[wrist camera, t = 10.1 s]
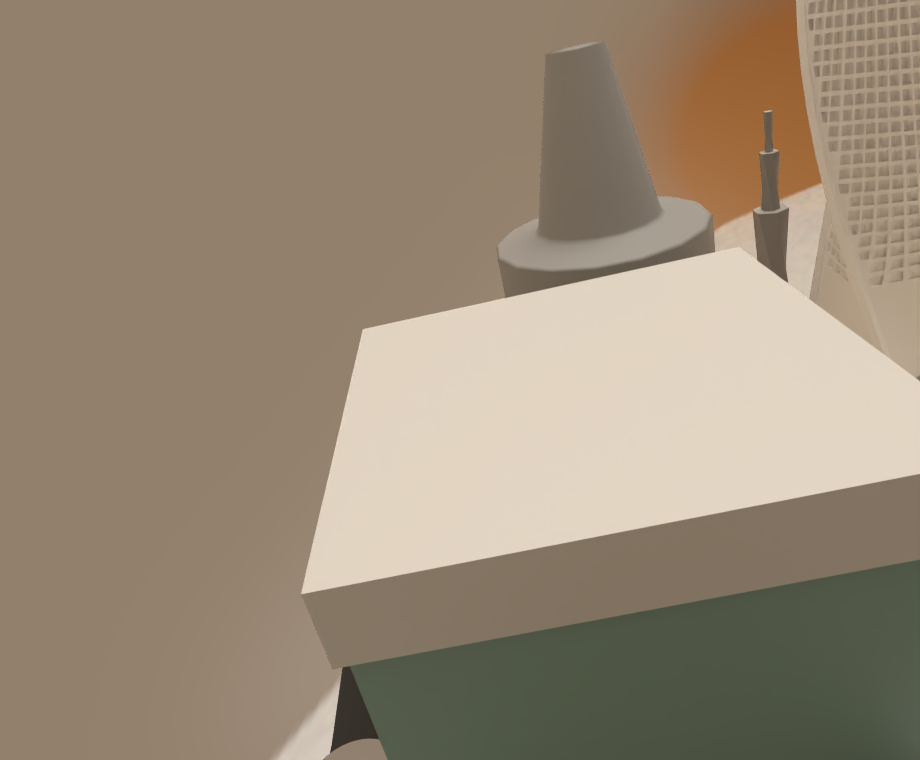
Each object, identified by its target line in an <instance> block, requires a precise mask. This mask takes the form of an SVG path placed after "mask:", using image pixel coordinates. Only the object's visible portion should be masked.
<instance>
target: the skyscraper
mask: <svg viewBox="0 0 920 760" xmlns="http://www.w3.org/2000/svg"><path fill="white" fill-rule="evenodd" d="M796 9H797V32H798V43H799V53H800V64H801V74H802V80H803V87H804V94H805V101H806V107H807V114H808V119H809V124H810V129H811V135H812V140H813V145H814V150H815V155H816V159H817V163H818V167H819V171H820V176H821V180H822V184H823V188H824V192H825V196H826V200H827V201H826V206H825V212H824V217H823V223H822V228H821V234H820V239H819V245H818V251H817V257H816V263H815V269H814V274H813V280H812V286H811V292H810V298H809V299H810V300H811V301H813V302H814V303H815V304H817V305H818V306H819V307H821V308H822V309H823V310H825V311H826V312H827V313H829V314H830V315H831V316H833V317H834V318H835V319H837V320H838V321H839V322H841V323H842V324H844V325H845V326H846V327H848V328H849V329H850V330H852V331H853V332H854V333H856V334H857V335H858V336H860V337H861V338H862V339H864V340H865V341H866V342H868V343H869V344H871V345H872V346H873V347H875V348H876V349H877V350H879V351H880V352H881V353H883V354H884V355H885V356H887V357H888V358H889V359H891V360H892V361H893V362H895V363H896V364H897V365H899V366H900V367H902V368H903V369H904V370H906V371H907V372H908V373H910V374H911V375H912V376H914V377H915V378H916V379H918V380H919V381H920V0H796ZM763 114H764V129H765V151H762V152H760V153H759V157H760V168H761V180H762V204H761V206H760V207H758V208H756V209H753V218H754V229H755V239H756V250H757V260H758V261H759V262H760V263H761V264H763V265H764V266H765V267H767V268H768V269H769V270H771V271H772V272H773V273H775V274H776V275H777V276H779V277H780V278H781V279H783V280H784V281H786V282H787V283H788V279H787V273H786V250H787V233H788V215H789V208H788V207H787V206H785V205H784V204H780V203H779V196H778V166H779V151H778V150H776V149H773V144H772V143H773V142H772V111H771V110H769V111H765V112H764V113H763Z"/></svg>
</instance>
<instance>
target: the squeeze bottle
mask: <svg viewBox="0 0 920 760" xmlns="http://www.w3.org/2000/svg"><path fill="white" fill-rule="evenodd" d="M544 78H545V79H544V101H543V126H542V149H541V174H540V199H539V218H536V219H534V220H532V221H530V222H528V223H527V224H525V225H523V226H521V227H519V228H517V229H515V230H513V231H512V232H511V233H510V234H508V236H507V237H506V238H505V239H504V240H503V241H502V242H501V243H500V244H499V245H498V247H497V255H498V262H499V267H500V273H501V277H502V282H503V287H504V292H505V297H506V298H508V297H513V296H517V295H522V294H527V293H531V292H536V291H540V290H545V289H549V288H554V287H558V286H563V285H568V284H572V283H577V282H581V281H586V280H590V279H595V278H599V277H604V276H609V275H613V274H618V273H622V272H627V271H631V270H636V269H641V268H645V267H650V266H654V265H659V264H663V263H668V262H672V261H677V260H682V259H686V258H691V257H695V256H700V255H704V254H709V253H714V252H715V243H714V227H713V215H711V214H710V213H709V212H708V211H707V210H706V209H704V208H703V207H702V206H701V205H700V204H699V203H698V202H694V201H689V200H685V199H681V198H676V197H657V194H656V191H655V188H654V185H653V182H652V180H651V176H650V173H649V170H648V168H647V164H646V161H645V158H644V155H643V153H642V149H641V146H640V143H639V140H638V137H637V135H636V132H635V129H634V126H633V123H632V120H631V117H630V114H629V111H628V108H627V105H626V102H625V99H624V96H623V93H622V90H621V87H620V84H619V81H618V78H617V75H616V72H615V69H614V66H613V63H612V60H611V57H610V54H609V51H608V48H607V45H606V42H605V41H596V42H590V43H585V44H580V45H576V46H571V47H567V48H563V49H560V50H556V51H553V52H550V53H547V54H545V77H544Z"/></svg>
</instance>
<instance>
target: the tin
mask: <svg viewBox="0 0 920 760" xmlns="http://www.w3.org/2000/svg"><path fill="white" fill-rule="evenodd" d="M301 595H302V597H303V600H304V602H305V605H306V607H307V609H308V612H309V614H310V616H311V619H312V621H313V624H314V626H315V629H316V631H317V633H318V636H319V638H320V640H321V643H322V645H323V648H324V650H325V652H326V655H327V657H328V660H329V662H330V664H331V667H332V669H336V668H342V667H347V666H350V668H351V670H352V673H353V675H354V678H355V680H356V683H357V685H358V688H359V690H360V693H361V695H362V698H363V700H364V703H365V705H366V708H367V710H368V713H369V715H370V718H371V720H372V723H373V725H374V728H375V730H376V732H377V735H378V737H379V740H380V742H381V745H382V747H383V750H384V752H385V755H386V757H387V760H920V381H919V380H918V379H916V378H915V377H914V376H912V375H911V374H910V373H908V372H907V371H906V370H904V369H903V368H902V367H900V366H899V365H897V364H896V363H895V362H893V361H892V360H891V359H889V358H888V357H887V356H885V355H884V354H883V353H881V352H880V351H879V350H877V349H876V348H875V347H873V346H872V345H871V344H869V343H868V342H866V341H865V340H864V339H862V338H861V337H860V336H858V335H857V334H856V333H854V332H853V331H852V330H850V329H849V328H848V327H846V326H845V325H844V324H842V323H841V322H839V321H838V320H837V319H835V318H834V317H833V316H831V315H830V314H829V313H827V312H826V311H825V310H823V309H822V308H821V307H819V306H818V305H817V304H815V303H814V302H813V301H811V300H810V299H808V298H807V297H806V296H804V295H803V294H802V293H800V292H799V291H798V290H796V289H795V288H794V287H792V286H791V285H790V284H788V283H787V282H786V281H784V280H783V279H781V278H780V277H779V276H777V275H776V274H775V273H773V272H772V271H771V270H769V269H768V268H767V267H765V266H764V265H763V264H761V263H760V262H759V261H757V260H756V259H755V258H753V257H752V256H750V255H749V254H748V253H746V252H745V251H744V250H742V249H741V248H740V247H736V248H732V249H727V250H723V251H718V252H714V253H709V254H704V255H700V256H695V257H691V258H686V259H682V260H677V261H672V262H668V263H663V264H659V265H654V266H650V267H645V268H641V269H636V270H631V271H627V272H622V273H618V274H613V275H609V276H604V277H599V278H595V279H590V280H586V281H581V282H577V283H572V284H568V285H563V286H558V287H554V288H549V289H545V290H540V291H536V292H531V293H527V294H522V295H517V296H513V297H508V298H504V299H499V300H495V301H490V302H485V303H481V304H476V305H472V306H467V307H463V308H458V309H454V310H449V311H444V312H440V313H435V314H431V315H426V316H422V317H417V318H413V319H408V320H404V321H399V322H395V323H390V324H385V325H381V326H376V327H371V328H367V329H363V332H362V336H361V340H360V344H359V349H358V353H357V357H356V362H355V366H354V370H353V374H352V379H351V383H350V387H349V391H348V396H347V400H346V404H345V409H344V413H343V417H342V422H341V426H340V430H339V435H338V439H337V443H336V447H335V451H334V456H333V460H332V464H331V469H330V473H329V477H328V482H327V486H326V490H325V495H324V499H323V503H322V507H321V511H320V516H319V520H318V524H317V528H316V533H315V537H314V541H313V546H312V550H311V555H310V558H309V563H308V567H307V571H306V575H305V580H304V584H303V589H302V593H301Z"/></svg>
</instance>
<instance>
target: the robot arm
mask: <svg viewBox="0 0 920 760" xmlns="http://www.w3.org/2000/svg"><path fill="white" fill-rule="evenodd" d="M323 760H387V757H386V755H385V752H384V750H383V747H382V745H381V742H380V740H379V737H378V735H377V732H376V730H375V728H374V725H373V723H372V720H371V718H370V715H369V713H368V710H367V708H366V705H365V703H364V700H363V698H362V695H361V693H360V690H359V688H358V685H357V683H356V680H355V678H354V675H353V673H352V670H351V668H350V666H347V667H343V669H342V676H341V683H340V690H339V697H338V704H337V711H336V718H335V726H334V733H333V740H332V746H331V751H330V754H329V755H328V756H326V757H325V758H324V759H323Z"/></svg>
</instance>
